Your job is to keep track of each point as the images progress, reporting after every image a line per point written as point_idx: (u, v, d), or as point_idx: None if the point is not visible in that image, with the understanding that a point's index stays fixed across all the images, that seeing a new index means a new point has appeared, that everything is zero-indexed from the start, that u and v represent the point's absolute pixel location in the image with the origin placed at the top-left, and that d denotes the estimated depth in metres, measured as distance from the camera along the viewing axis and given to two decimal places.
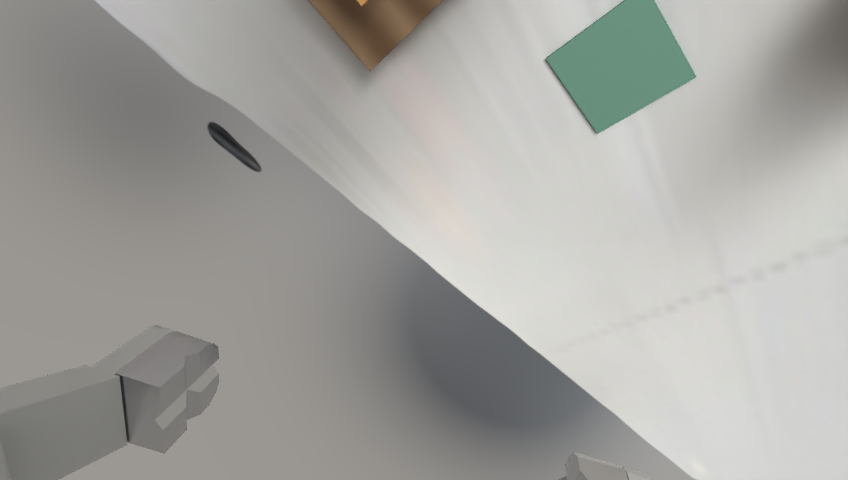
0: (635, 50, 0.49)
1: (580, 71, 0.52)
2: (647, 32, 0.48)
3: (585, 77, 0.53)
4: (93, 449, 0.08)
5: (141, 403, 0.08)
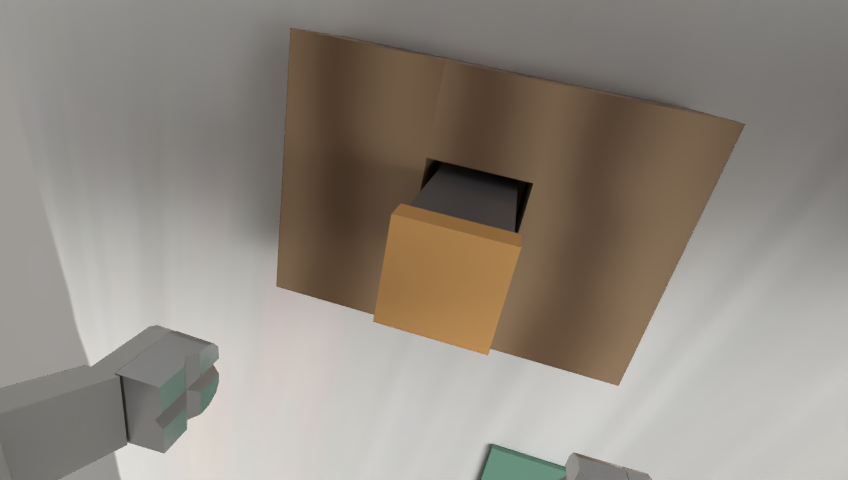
0: None
1: None
2: None
3: None
4: (93, 449, 0.08)
5: (141, 403, 0.08)
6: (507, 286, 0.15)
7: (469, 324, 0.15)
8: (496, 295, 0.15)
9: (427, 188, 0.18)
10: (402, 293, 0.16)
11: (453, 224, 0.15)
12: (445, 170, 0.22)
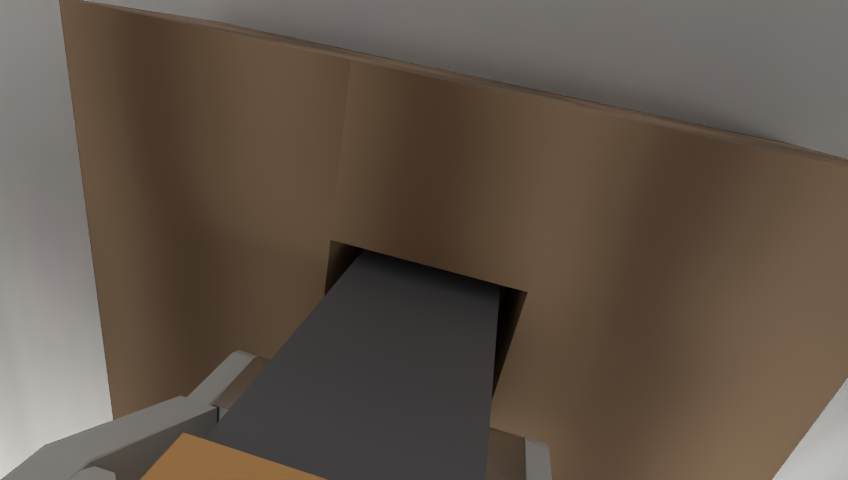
0: None
1: None
2: None
3: None
4: None
5: None
6: None
7: None
8: None
9: (308, 326, 0.09)
10: None
11: None
12: (371, 257, 0.12)
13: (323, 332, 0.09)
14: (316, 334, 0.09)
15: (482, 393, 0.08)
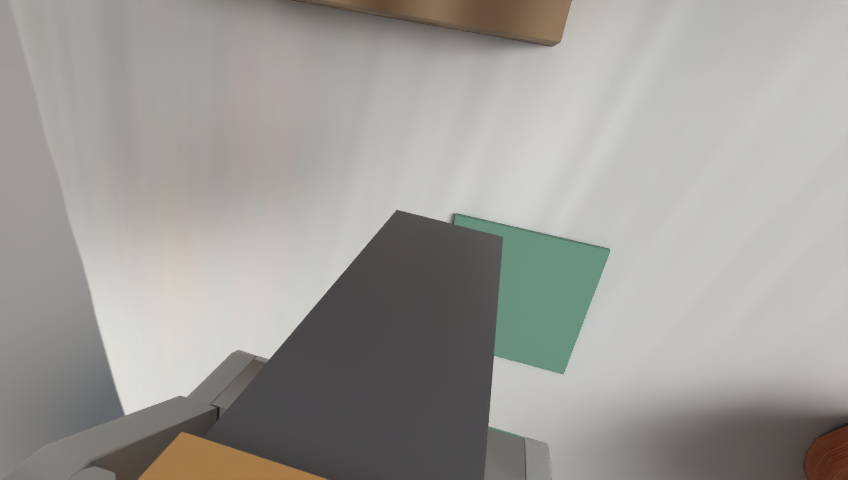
0: (541, 298, 0.35)
1: None
2: (567, 293, 0.35)
3: None
4: None
5: None
6: None
7: None
8: None
9: (307, 325, 0.09)
10: None
11: None
12: (370, 257, 0.12)
13: (322, 331, 0.09)
14: (315, 333, 0.09)
15: (481, 392, 0.08)
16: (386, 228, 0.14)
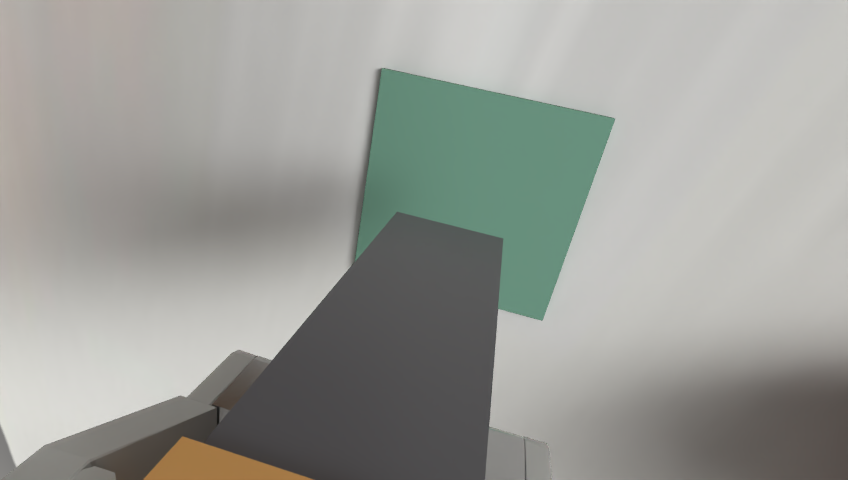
0: (511, 202, 0.24)
1: (412, 149, 0.24)
2: (549, 193, 0.23)
3: (411, 166, 0.24)
4: None
5: None
6: None
7: None
8: None
9: (307, 329, 0.09)
10: None
11: None
12: (370, 259, 0.12)
13: (322, 335, 0.09)
14: (315, 337, 0.09)
15: (481, 396, 0.08)
16: (386, 230, 0.14)
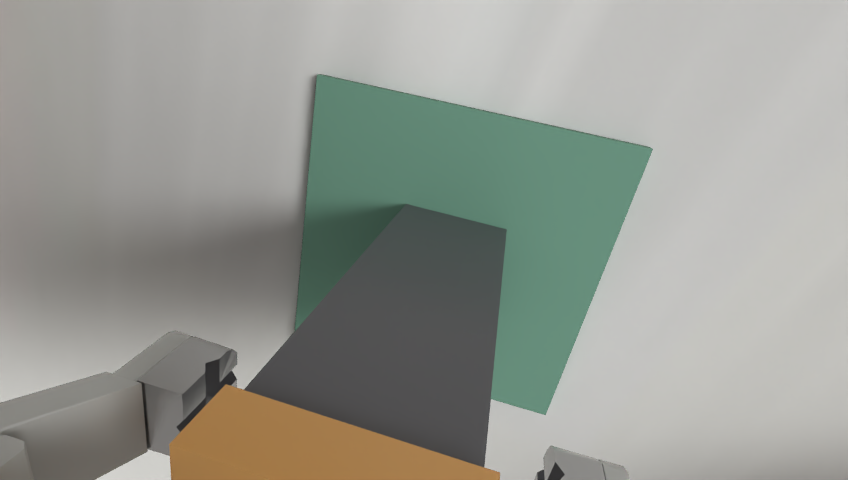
0: None
1: (364, 187, 0.17)
2: (556, 250, 0.16)
3: (364, 210, 0.17)
4: (114, 456, 0.08)
5: (163, 410, 0.08)
6: None
7: None
8: None
9: (328, 303, 0.10)
10: None
11: (331, 460, 0.06)
12: (382, 245, 0.13)
13: (341, 308, 0.10)
14: (335, 310, 0.10)
15: (485, 362, 0.09)
16: (396, 220, 0.15)
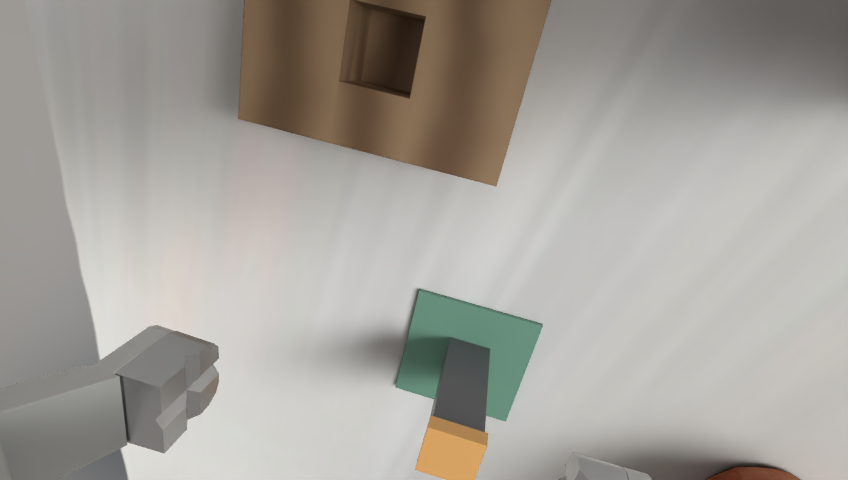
0: None
1: (434, 329, 0.43)
2: (509, 357, 0.42)
3: (433, 338, 0.43)
4: (93, 449, 0.08)
5: (141, 403, 0.08)
6: (480, 460, 0.31)
7: (462, 474, 0.32)
8: (475, 463, 0.32)
9: (440, 390, 0.35)
10: (430, 459, 0.32)
11: (456, 430, 0.32)
12: (448, 363, 0.39)
13: (444, 392, 0.35)
14: (443, 393, 0.35)
15: (484, 408, 0.35)
16: (449, 348, 0.41)
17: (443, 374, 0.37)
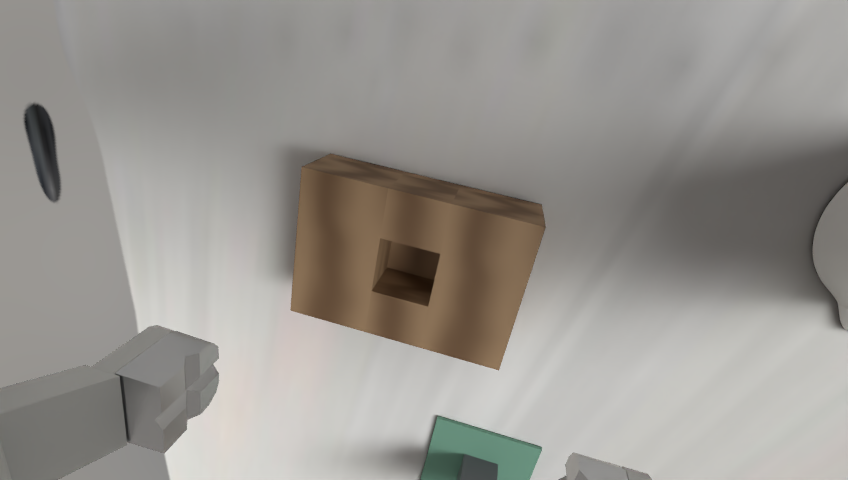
0: None
1: (450, 447, 0.51)
2: (514, 471, 0.50)
3: (449, 453, 0.51)
4: (93, 449, 0.08)
5: (141, 403, 0.08)
6: None
7: None
8: None
9: None
10: None
11: None
12: None
13: None
14: None
15: None
16: (463, 467, 0.49)
17: None
